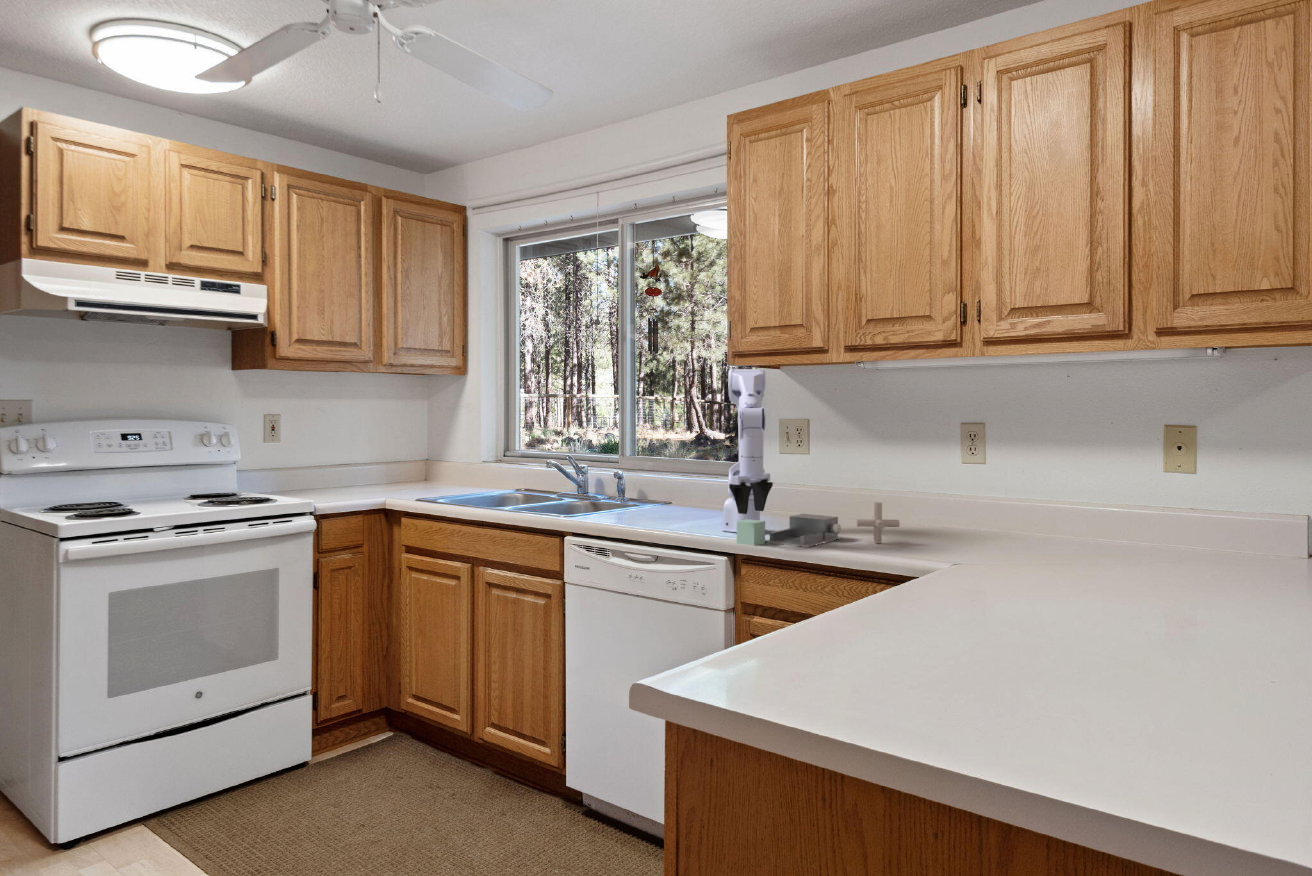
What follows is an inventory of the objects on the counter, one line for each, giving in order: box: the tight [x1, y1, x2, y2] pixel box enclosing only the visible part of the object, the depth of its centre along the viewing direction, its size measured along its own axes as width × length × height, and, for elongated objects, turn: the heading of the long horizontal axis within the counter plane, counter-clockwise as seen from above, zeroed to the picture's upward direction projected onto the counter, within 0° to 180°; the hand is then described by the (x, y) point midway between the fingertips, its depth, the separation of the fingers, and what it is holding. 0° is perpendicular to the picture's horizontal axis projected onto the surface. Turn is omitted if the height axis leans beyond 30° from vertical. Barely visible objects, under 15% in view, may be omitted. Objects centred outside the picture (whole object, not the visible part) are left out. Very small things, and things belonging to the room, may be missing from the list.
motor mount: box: [765, 513, 843, 548], centre depth 207 cm, size 13×18×6 cm
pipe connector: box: [856, 501, 901, 544], centre depth 203 cm, size 10×10×10 cm
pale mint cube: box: [736, 519, 766, 547], centre depth 203 cm, size 5×5×6 cm
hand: (751, 512), depth 203 cm, fingers open, 7 cm apart
